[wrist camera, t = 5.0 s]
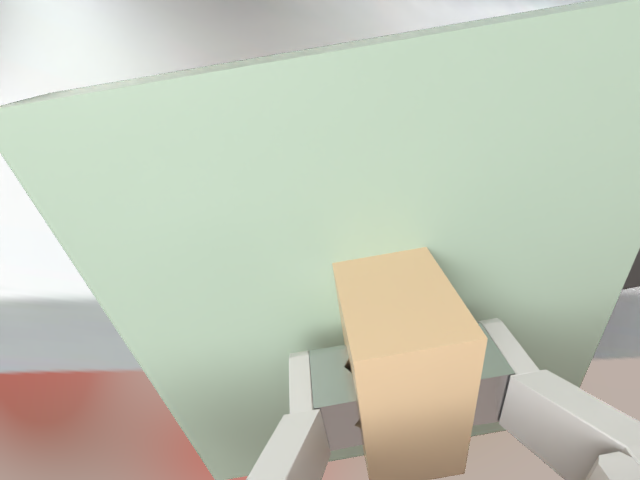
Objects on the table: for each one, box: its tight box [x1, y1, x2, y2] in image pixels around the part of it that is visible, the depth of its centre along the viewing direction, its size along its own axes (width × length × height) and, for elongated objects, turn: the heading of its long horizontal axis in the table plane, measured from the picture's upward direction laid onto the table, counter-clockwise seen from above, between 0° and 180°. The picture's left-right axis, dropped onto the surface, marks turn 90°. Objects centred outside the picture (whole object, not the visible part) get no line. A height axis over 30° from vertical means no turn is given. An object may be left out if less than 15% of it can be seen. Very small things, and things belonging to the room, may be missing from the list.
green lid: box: [0, 0, 640, 480], centre depth 10 cm, size 14×14×5 cm
